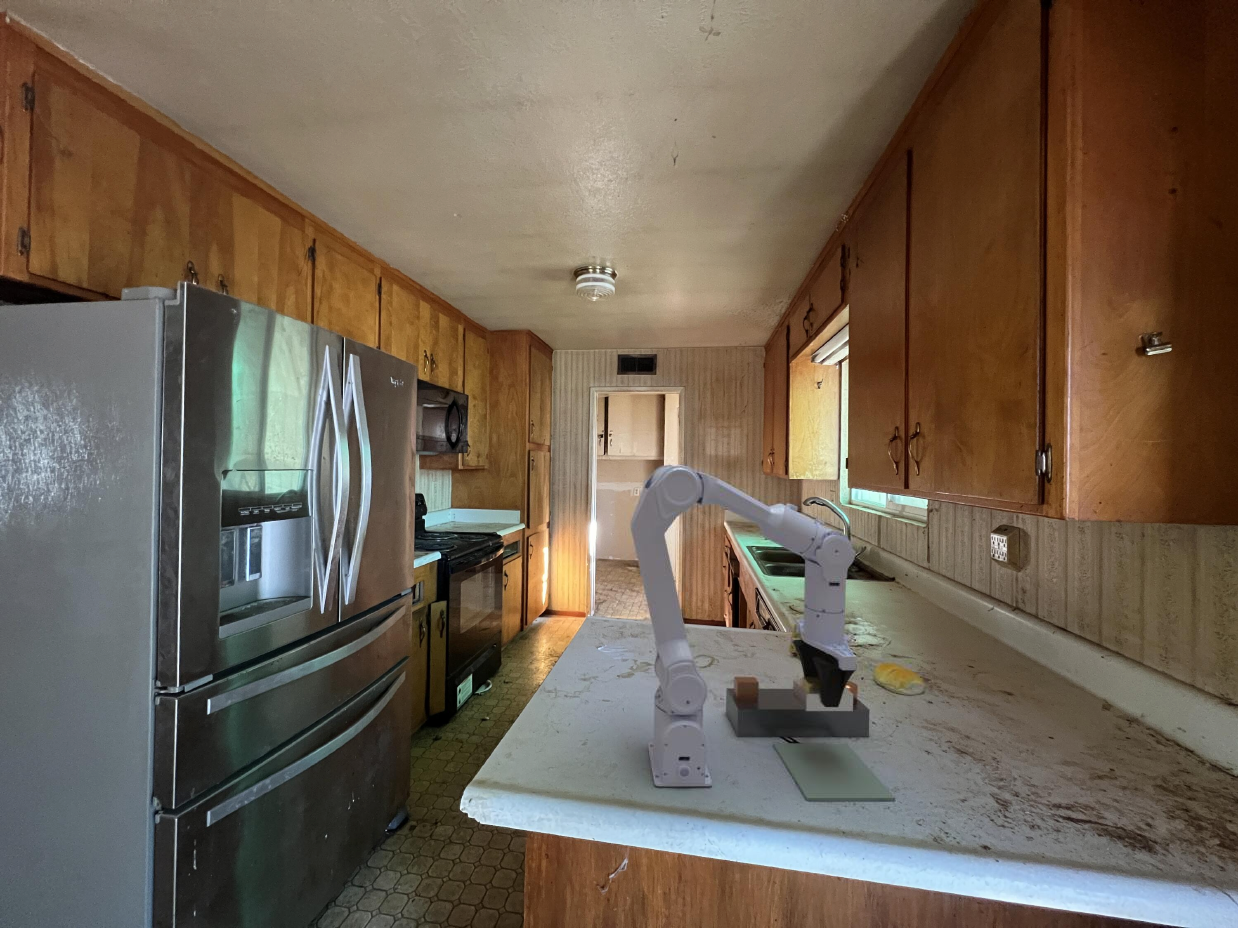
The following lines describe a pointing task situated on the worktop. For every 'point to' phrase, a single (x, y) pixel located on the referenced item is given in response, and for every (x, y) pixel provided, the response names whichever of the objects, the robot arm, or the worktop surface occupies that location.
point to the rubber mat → (831, 773)
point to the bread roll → (898, 679)
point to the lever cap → (818, 696)
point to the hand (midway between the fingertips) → (821, 696)
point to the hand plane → (789, 714)
